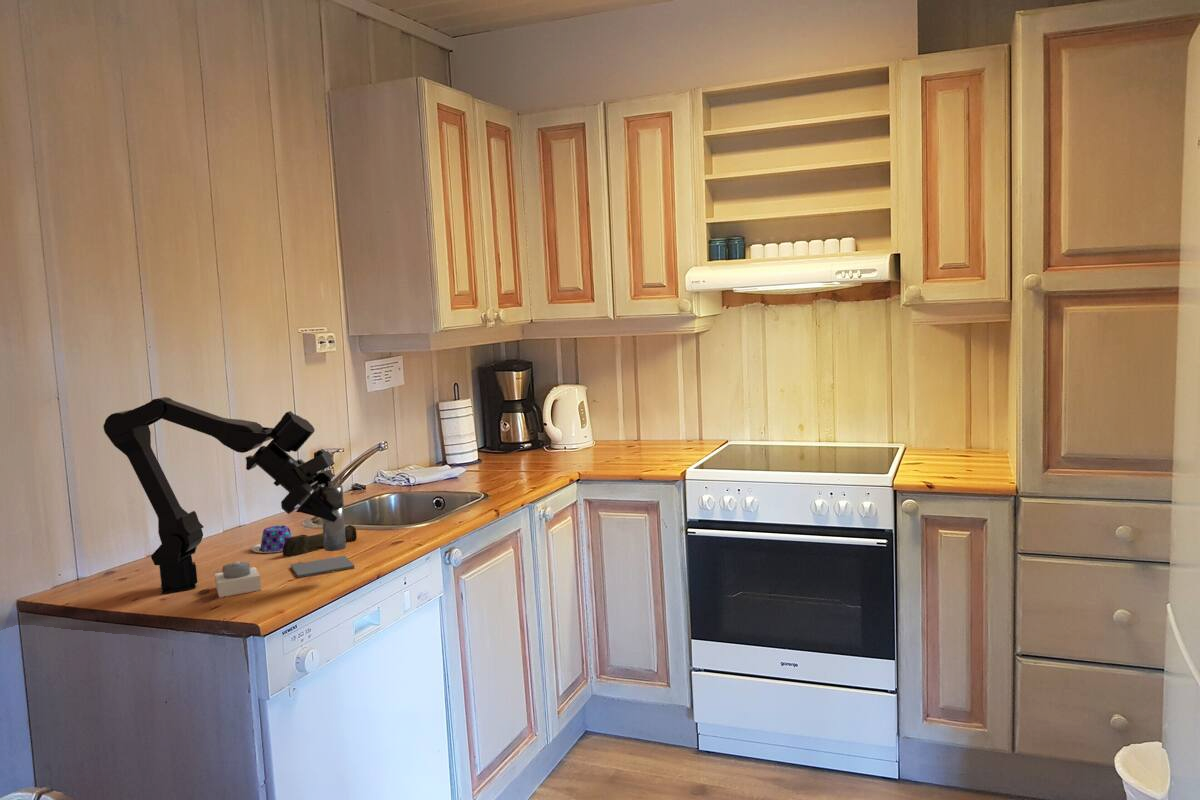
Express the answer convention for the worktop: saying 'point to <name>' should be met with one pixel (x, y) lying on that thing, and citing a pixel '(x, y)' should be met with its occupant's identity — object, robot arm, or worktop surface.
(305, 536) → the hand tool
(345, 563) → the rest mat
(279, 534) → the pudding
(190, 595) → the worktop surface
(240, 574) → the block
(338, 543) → the grey upright cylinder
